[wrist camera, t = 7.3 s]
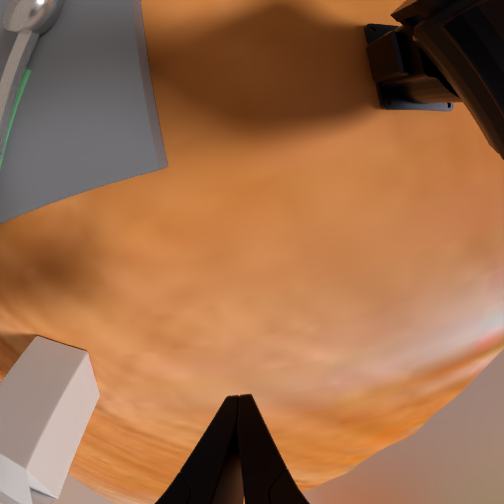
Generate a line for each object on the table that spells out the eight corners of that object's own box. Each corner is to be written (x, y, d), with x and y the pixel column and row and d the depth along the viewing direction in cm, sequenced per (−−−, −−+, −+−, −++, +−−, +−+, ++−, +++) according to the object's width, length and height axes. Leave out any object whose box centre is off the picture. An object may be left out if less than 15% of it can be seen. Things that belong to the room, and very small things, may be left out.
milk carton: (36, 334, 25) (-49, 461, 7) (88, 350, 25) (10, 507, 7) (52, 377, 27) (-9, 495, 10) (101, 393, 28) (48, 530, 10)
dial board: (135, -68, 10) (127, -80, 8) (168, 166, 19) (158, 170, 16) (-28, 36, 11) (-41, 34, 9) (-9, 226, 20) (-23, 234, 18)
